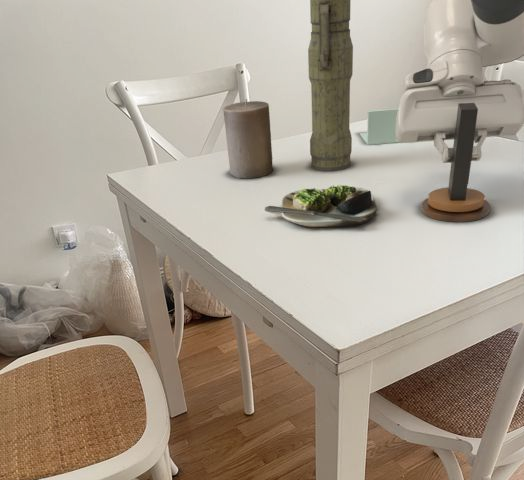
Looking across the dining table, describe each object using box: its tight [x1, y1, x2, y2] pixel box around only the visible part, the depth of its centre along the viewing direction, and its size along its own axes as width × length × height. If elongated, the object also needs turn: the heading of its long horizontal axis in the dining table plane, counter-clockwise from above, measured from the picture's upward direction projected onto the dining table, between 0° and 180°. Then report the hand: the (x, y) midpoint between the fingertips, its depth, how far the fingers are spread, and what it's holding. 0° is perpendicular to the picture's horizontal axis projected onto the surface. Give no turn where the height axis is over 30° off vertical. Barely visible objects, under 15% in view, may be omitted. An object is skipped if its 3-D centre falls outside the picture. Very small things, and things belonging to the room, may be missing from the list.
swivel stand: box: [420, 197, 491, 223], centre depth 92 cm, size 11×11×1 cm
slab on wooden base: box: [427, 103, 486, 212], centre depth 87 cm, size 9×9×15 cm
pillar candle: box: [222, 98, 274, 179], centre depth 115 cm, size 10×10×15 cm
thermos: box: [307, 0, 354, 172], centre depth 109 cm, size 9×12×35 cm
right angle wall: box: [359, 107, 400, 146], centre depth 134 cm, size 12×12×8 cm
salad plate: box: [264, 184, 378, 228], centre depth 94 cm, size 19×18×5 cm
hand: (461, 160), depth 87 cm, fingers closed on slab on wooden base, 3 cm apart
